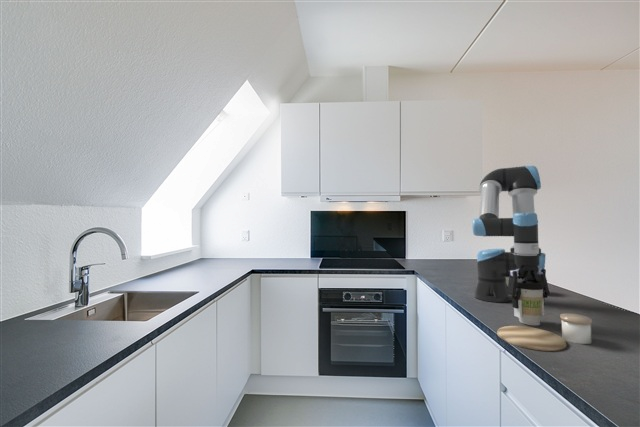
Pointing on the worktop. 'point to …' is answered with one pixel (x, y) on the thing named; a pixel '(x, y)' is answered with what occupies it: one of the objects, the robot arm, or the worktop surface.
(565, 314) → the sugar jar
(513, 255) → the robot arm
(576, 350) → the worktop surface
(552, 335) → the round wooden board
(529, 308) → the coffee cup
